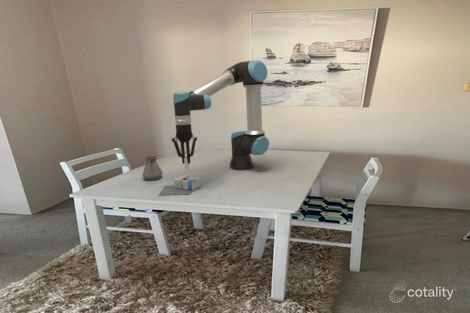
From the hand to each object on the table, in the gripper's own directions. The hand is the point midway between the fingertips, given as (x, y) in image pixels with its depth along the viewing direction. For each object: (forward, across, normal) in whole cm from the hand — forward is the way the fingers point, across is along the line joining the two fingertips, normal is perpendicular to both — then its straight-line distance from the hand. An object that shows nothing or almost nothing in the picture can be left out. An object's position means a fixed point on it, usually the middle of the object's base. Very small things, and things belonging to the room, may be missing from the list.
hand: (187, 169), depth 154 cm
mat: (+11, -6, 0) cm, 12 cm away
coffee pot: (+11, -23, +17) cm, 31 cm away
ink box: (+8, +4, +1) cm, 9 cm away
